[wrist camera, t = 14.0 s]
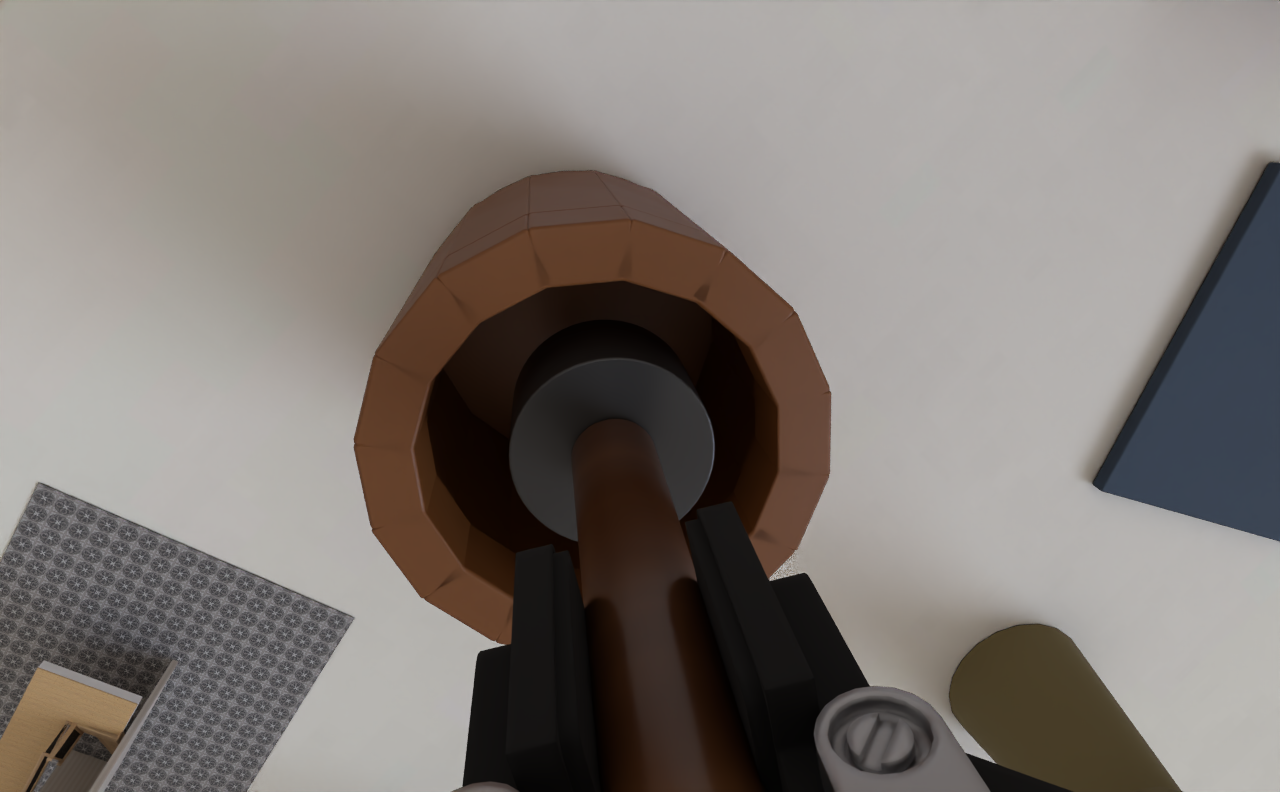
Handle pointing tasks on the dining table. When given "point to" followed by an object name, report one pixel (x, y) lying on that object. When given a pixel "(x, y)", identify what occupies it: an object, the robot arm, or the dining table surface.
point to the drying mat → (1216, 391)
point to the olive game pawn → (1051, 715)
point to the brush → (632, 549)
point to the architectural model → (143, 658)
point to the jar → (523, 319)
